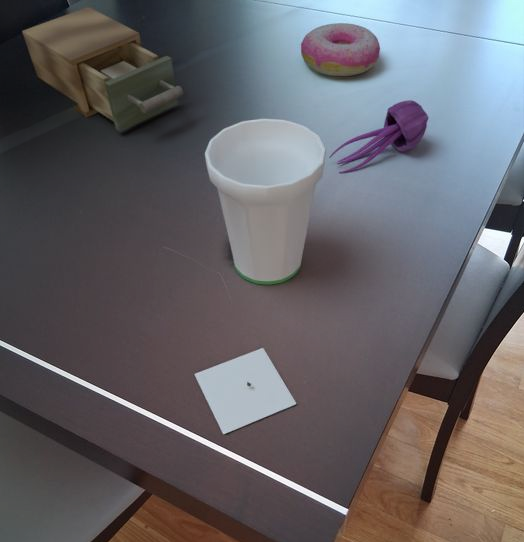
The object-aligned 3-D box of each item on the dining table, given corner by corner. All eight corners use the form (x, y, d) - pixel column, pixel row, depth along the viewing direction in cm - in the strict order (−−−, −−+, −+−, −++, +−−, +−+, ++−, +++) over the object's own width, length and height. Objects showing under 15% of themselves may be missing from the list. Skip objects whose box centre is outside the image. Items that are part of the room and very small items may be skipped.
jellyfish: (323, 133, 78) (415, 82, 79) (321, 159, 85) (406, 111, 86) (349, 171, 77) (442, 118, 78) (344, 194, 83) (430, 145, 84)
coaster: (194, 374, 60) (193, 369, 59) (263, 347, 61) (262, 343, 61) (223, 434, 55) (222, 430, 54) (296, 403, 57) (296, 399, 56)
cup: (314, 226, 74) (321, 115, 62) (322, 296, 66) (332, 185, 54) (218, 229, 74) (206, 119, 62) (215, 299, 66) (201, 189, 54)
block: (123, 107, 89) (116, 80, 86) (107, 97, 91) (100, 70, 88) (145, 97, 91) (140, 69, 88) (129, 87, 93) (123, 60, 90)
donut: (392, 73, 98) (396, 43, 94) (322, 89, 95) (324, 59, 91) (354, 41, 106) (357, 12, 102) (289, 55, 103) (290, 26, 99)
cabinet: (149, 89, 97) (139, 32, 89) (87, 117, 91) (70, 60, 84) (101, 61, 103) (88, 6, 96) (40, 86, 98) (21, 30, 91)
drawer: (197, 115, 89) (192, 68, 84) (139, 144, 85) (129, 97, 79) (129, 75, 98) (120, 30, 92) (72, 100, 93) (59, 55, 87)
